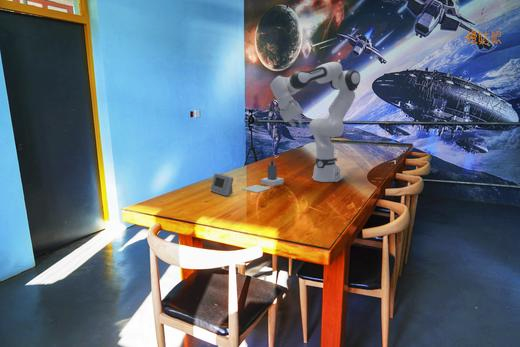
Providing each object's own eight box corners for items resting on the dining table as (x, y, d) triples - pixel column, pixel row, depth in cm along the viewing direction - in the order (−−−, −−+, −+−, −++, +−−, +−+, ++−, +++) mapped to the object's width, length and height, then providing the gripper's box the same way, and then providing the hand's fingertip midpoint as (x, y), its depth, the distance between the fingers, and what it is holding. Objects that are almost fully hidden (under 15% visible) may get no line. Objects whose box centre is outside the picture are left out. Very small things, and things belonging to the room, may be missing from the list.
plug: (271, 182, 223) (271, 159, 219) (276, 183, 220) (276, 159, 217) (267, 183, 220) (267, 159, 216) (272, 184, 217) (272, 160, 214)
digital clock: (209, 191, 204) (208, 173, 202) (223, 189, 209) (223, 171, 206) (221, 198, 190) (220, 178, 188) (236, 195, 195) (235, 176, 193)
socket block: (271, 180, 227) (271, 176, 226) (283, 183, 220) (283, 178, 220) (260, 183, 219) (260, 179, 219) (273, 186, 213) (273, 181, 212)
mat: (255, 185, 216) (255, 184, 216) (270, 188, 208) (270, 187, 208) (241, 189, 207) (241, 188, 207) (257, 192, 199) (257, 192, 199)
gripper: (298, 96, 194) (309, 118, 195) (284, 106, 214) (295, 126, 214) (289, 100, 192) (300, 123, 193) (276, 110, 212) (286, 130, 213)
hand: (297, 125), depth 204 cm, fingers open, 8 cm apart
